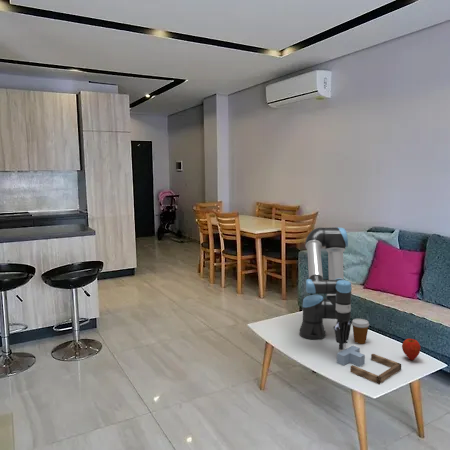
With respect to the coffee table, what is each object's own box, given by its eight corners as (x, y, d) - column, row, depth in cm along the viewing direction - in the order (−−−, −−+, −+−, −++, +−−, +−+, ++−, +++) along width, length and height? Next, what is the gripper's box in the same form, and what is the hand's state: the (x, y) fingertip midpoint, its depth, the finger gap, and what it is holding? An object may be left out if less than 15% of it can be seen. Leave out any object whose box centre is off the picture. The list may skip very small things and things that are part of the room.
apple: (397, 357, 206) (398, 337, 205) (409, 354, 210) (410, 334, 208) (411, 364, 198) (412, 344, 197) (423, 361, 202) (424, 340, 200)
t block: (336, 362, 202) (337, 353, 201) (352, 354, 211) (352, 345, 210) (354, 370, 194) (354, 360, 194) (369, 361, 203) (370, 351, 202)
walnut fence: (350, 371, 193) (350, 366, 192) (372, 359, 205) (372, 353, 205) (379, 384, 181) (379, 378, 181) (401, 369, 194) (401, 363, 193)
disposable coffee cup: (347, 339, 229) (348, 319, 227) (360, 336, 232) (361, 317, 231) (359, 346, 220) (359, 325, 218) (372, 343, 224) (373, 322, 222)
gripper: (341, 315, 197) (340, 361, 200) (356, 309, 205) (355, 353, 208) (329, 312, 203) (328, 356, 206) (344, 306, 211) (343, 348, 214)
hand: (342, 354), depth 207 cm, fingers closed
